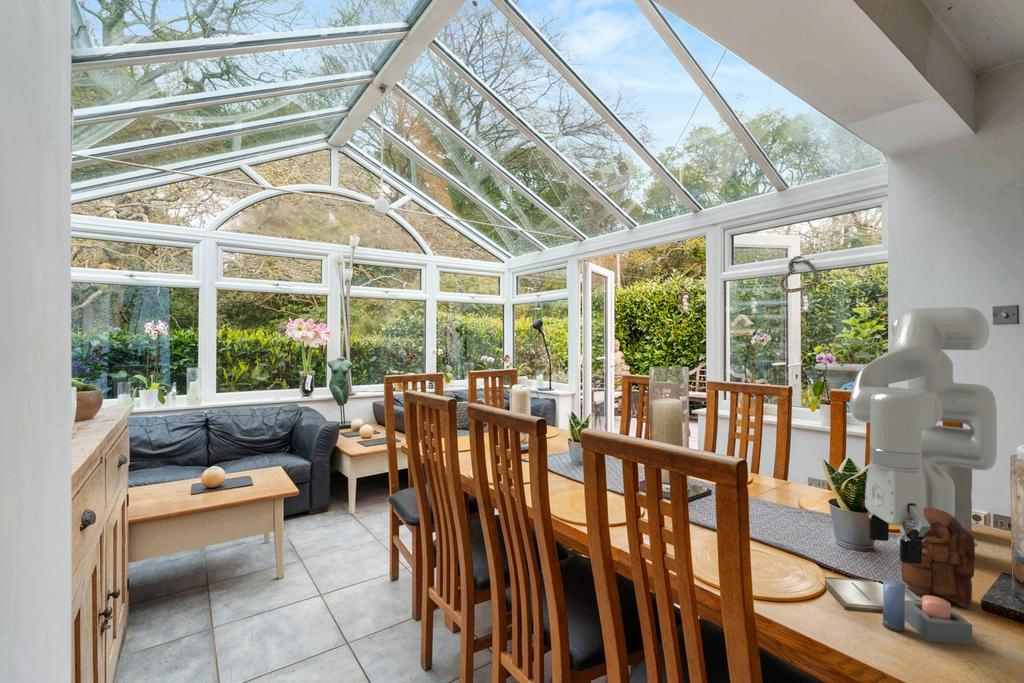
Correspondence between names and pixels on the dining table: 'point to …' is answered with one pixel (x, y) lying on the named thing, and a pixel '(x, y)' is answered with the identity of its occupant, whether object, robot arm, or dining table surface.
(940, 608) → the button
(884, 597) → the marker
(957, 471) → the thermos bottle
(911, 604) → the button housing
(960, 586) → the wooden figurine
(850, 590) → the clipboard
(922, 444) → the robot arm
